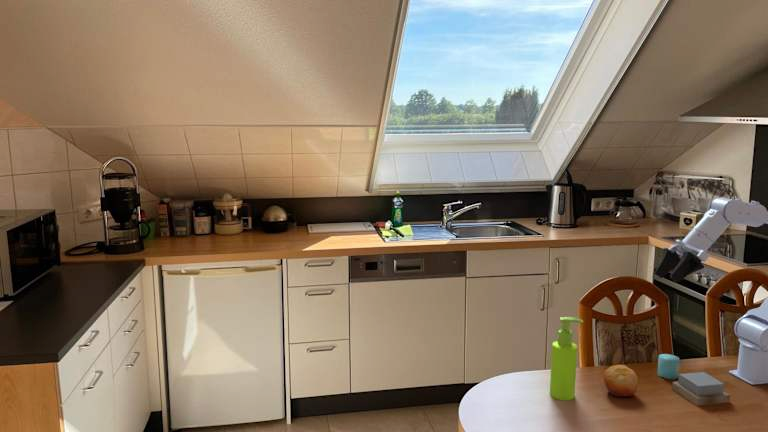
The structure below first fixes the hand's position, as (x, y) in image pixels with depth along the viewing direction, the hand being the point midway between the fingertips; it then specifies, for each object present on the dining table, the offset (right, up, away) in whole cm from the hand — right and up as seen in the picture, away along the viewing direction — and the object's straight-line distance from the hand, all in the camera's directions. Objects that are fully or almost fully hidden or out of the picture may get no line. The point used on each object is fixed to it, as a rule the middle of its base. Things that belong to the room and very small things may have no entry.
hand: (665, 277), depth 147 cm
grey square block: (+8, -27, -1) cm, 29 cm away
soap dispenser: (-25, -29, -1) cm, 39 cm away
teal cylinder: (+6, -27, +11) cm, 30 cm away
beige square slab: (+8, -30, -1) cm, 31 cm away
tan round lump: (-11, -29, 0) cm, 31 cm away
